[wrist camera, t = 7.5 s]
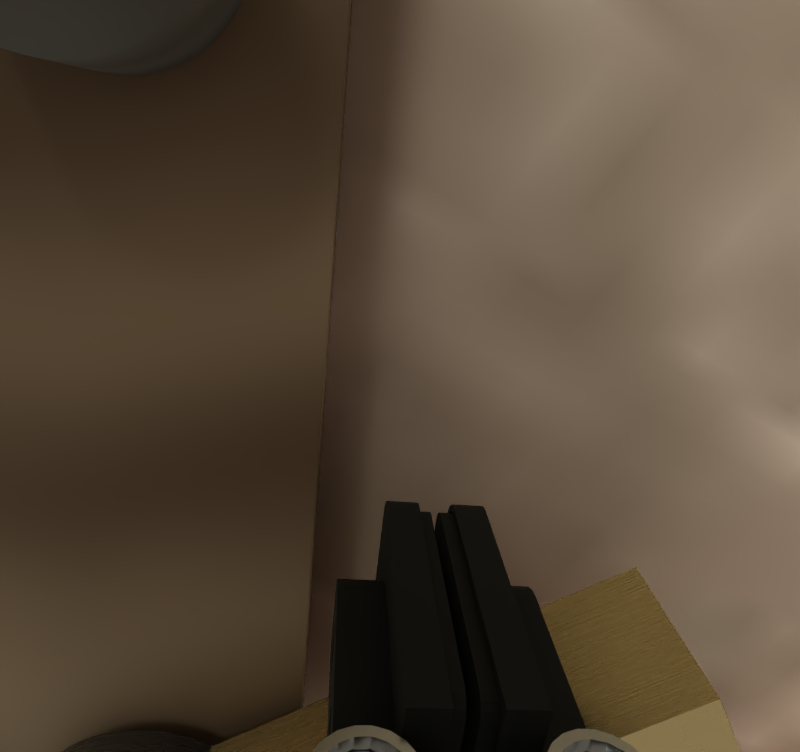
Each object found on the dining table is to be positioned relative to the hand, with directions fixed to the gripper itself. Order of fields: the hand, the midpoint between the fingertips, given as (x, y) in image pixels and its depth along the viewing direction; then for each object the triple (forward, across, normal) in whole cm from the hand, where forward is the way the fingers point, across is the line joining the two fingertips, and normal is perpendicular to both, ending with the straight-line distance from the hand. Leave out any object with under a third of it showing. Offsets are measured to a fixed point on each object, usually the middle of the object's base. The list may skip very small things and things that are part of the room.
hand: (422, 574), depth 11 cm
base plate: (+2, +11, -2) cm, 11 cm away
